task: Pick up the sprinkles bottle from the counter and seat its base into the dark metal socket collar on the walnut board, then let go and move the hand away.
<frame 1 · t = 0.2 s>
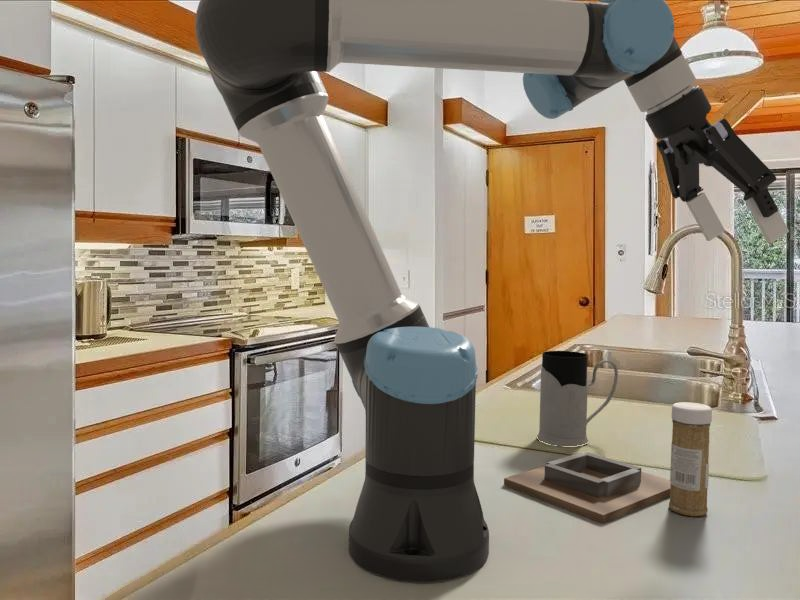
hand: (745, 236, 89), 35 cm above the countertop, tool tilted 35°, fingers open, 13 cm apart
sprinkles bottle: (687, 512, 83), on the countertop
grey mug: (577, 440, 114), on the countertop
socket board: (592, 487, 90), on the countertop
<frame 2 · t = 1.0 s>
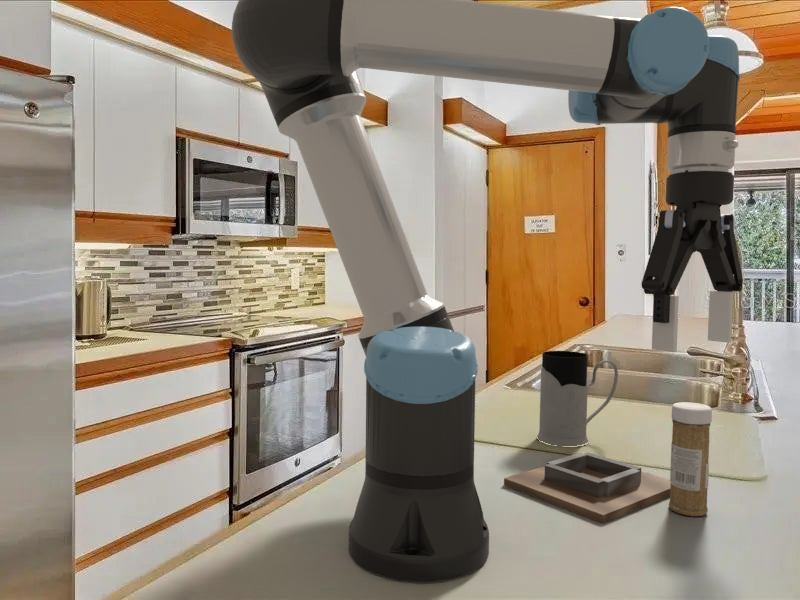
hand: (693, 346, 81), 21 cm above the countertop, tool pointing down, fingers open, 13 cm apart
nothing on the countertop moved.
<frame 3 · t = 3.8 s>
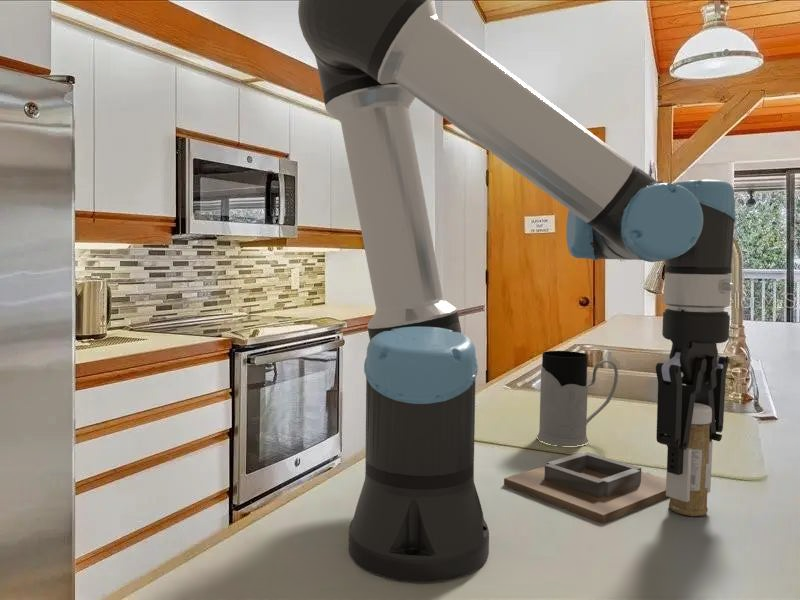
hand: (688, 493, 82), 2 cm above the countertop, tool pointing down, fingers closed on sprinkles bottle, 4 cm apart
sprinkles bottle: (687, 511, 83), on the countertop, touching gripper
everything else where it was.
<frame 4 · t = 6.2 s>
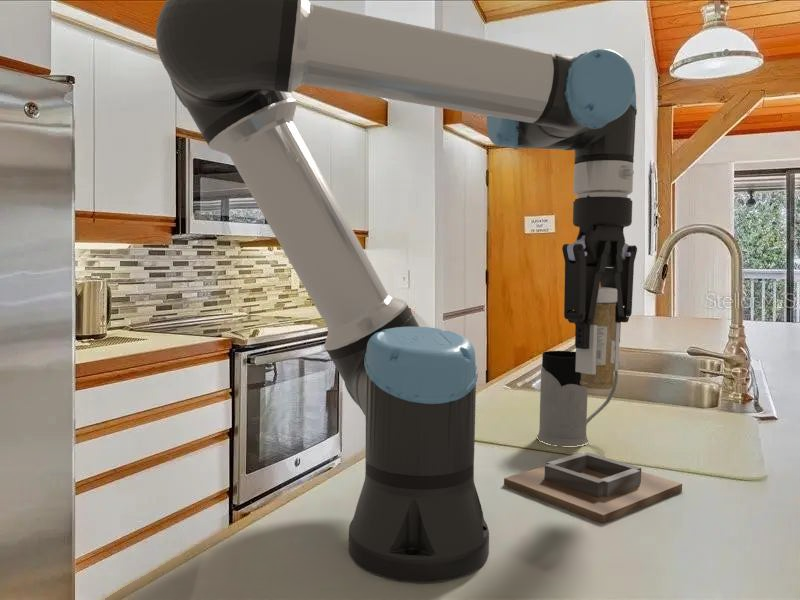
hand: (597, 370, 89), 16 cm above the countertop, tool pointing down, fingers closed on sprinkles bottle, 4 cm apart
sprinkles bottle: (596, 388, 89), point 14 cm above the countertop, touching gripper
everything else where it was.
when the fingers open (4 cm above the countertop, at t = 8.5 s): sprinkles bottle drops 1 cm, resting on socket board.
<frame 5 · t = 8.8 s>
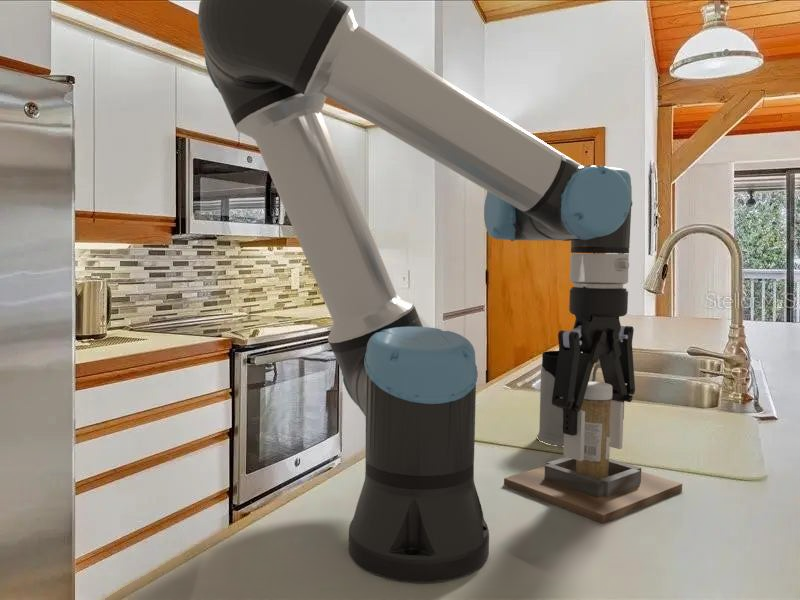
hand: (593, 451, 90), 5 cm above the countertop, tool pointing down, fingers open, 8 cm apart
sprinkles bottle: (591, 482, 90), point 1 cm above the countertop, touching socket board
everything else where it was.
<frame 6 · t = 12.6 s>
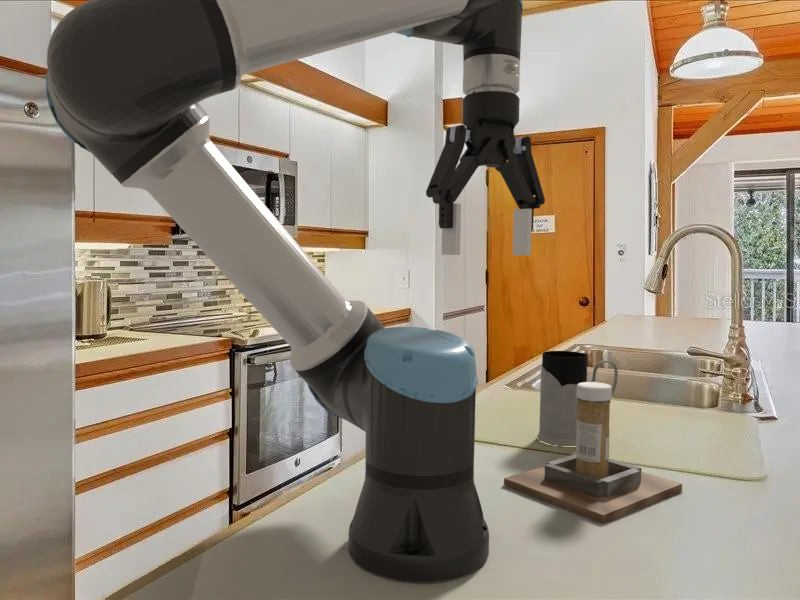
hand: (487, 255, 89), 32 cm above the countertop, tool pointing down, fingers open, 13 cm apart
nothing on the countertop moved.
at the end: sprinkles bottle 0.2 cm off-centre on the socket board, point 0.8 cm above the socket board's base; sprinkles bottle tilted 0°; the gripper is holding nothing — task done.
